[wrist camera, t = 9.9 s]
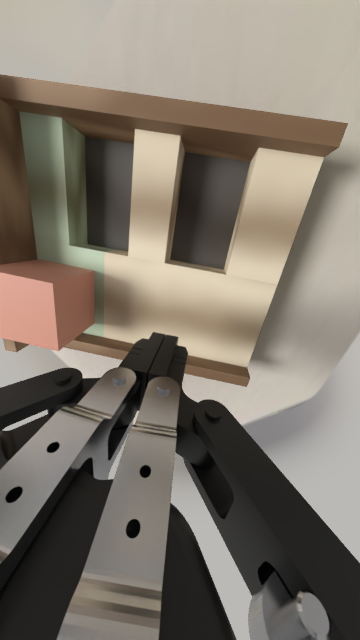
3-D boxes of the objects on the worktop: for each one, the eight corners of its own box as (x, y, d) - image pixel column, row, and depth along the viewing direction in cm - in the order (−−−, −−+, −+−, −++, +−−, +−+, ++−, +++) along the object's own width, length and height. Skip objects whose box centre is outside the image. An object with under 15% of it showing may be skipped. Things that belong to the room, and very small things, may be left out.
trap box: (38, 114, 16) (-66, 40, 10) (308, 155, 15) (377, 99, 9) (57, 320, 23) (5, 349, 17) (239, 358, 22) (251, 404, 16)
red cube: (39, 259, 17) (-23, 267, 13) (94, 270, 17) (52, 283, 12) (45, 312, 19) (-7, 336, 15) (94, 323, 19) (58, 350, 14)
